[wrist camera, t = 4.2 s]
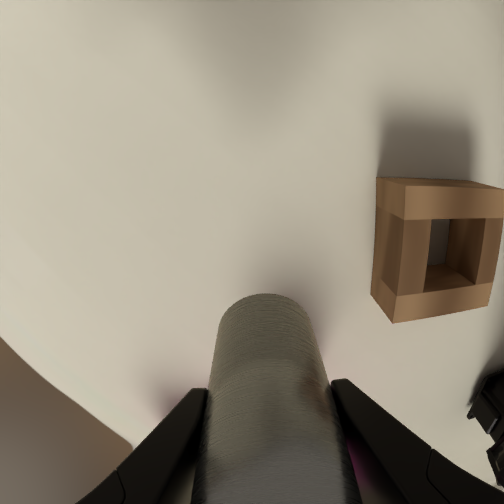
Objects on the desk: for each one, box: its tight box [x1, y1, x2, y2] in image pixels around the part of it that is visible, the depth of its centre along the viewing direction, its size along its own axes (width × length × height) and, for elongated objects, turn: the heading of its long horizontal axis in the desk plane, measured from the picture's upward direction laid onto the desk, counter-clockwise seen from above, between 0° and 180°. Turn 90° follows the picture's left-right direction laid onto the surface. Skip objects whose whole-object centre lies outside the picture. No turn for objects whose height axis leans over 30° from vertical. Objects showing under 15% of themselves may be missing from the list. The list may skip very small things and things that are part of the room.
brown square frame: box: [371, 177, 504, 323], centre depth 18 cm, size 8×8×4 cm
